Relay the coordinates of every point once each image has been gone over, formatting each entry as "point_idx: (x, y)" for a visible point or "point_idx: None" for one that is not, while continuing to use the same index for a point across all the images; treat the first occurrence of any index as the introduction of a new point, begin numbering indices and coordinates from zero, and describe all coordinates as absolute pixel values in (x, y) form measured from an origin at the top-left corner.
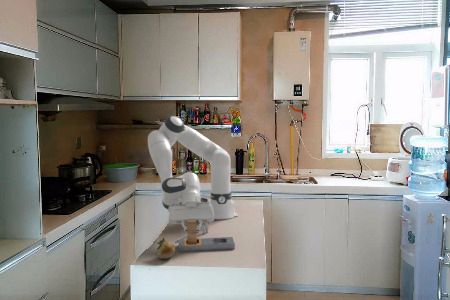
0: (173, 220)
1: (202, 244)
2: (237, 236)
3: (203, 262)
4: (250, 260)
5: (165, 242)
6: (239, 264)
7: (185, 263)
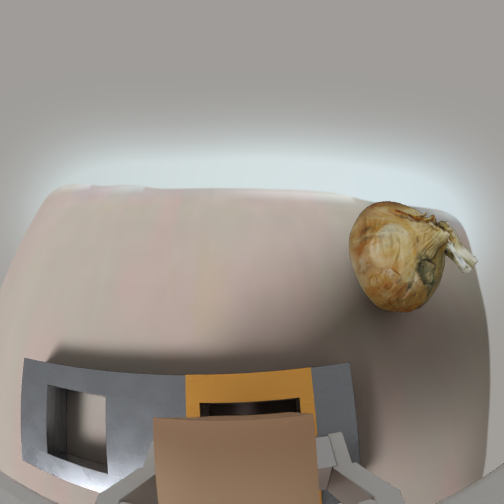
0: (501, 465)
1: (177, 385)
2: None
3: (196, 221)
4: (44, 237)
5: (415, 221)
6: (83, 207)
7: (276, 214)
